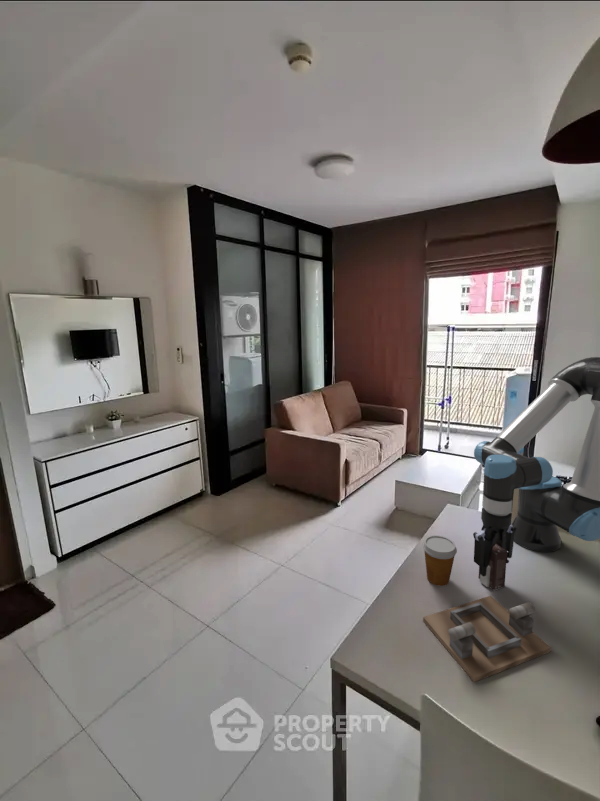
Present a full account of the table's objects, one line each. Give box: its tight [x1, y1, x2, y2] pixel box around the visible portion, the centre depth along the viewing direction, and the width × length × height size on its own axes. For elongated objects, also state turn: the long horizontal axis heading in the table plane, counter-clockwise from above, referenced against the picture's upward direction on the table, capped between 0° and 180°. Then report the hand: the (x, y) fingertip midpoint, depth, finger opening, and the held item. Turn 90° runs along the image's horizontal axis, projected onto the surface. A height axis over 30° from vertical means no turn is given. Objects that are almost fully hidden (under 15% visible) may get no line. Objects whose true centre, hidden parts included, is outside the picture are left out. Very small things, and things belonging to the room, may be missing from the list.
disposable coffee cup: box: [422, 535, 458, 587], centre depth 112 cm, size 10×10×12 cm
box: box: [478, 544, 508, 591], centre depth 110 cm, size 6×4×12 cm
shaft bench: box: [422, 595, 552, 683], centre depth 93 cm, size 24×18×8 cm
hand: (491, 581), depth 111 cm, fingers closed on box, 4 cm apart
